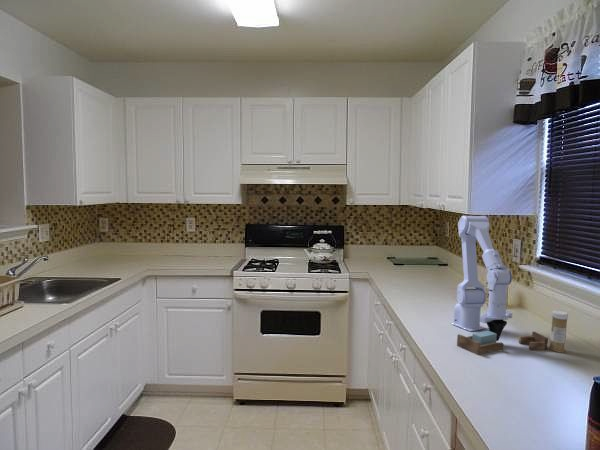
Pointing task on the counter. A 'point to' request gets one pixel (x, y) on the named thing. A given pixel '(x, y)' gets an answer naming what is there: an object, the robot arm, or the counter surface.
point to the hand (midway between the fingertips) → (494, 339)
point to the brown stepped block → (534, 341)
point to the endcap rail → (477, 345)
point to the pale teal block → (484, 337)
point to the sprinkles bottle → (558, 330)
